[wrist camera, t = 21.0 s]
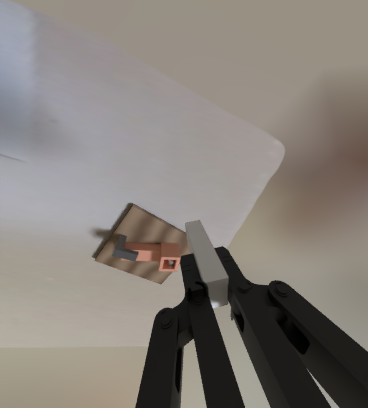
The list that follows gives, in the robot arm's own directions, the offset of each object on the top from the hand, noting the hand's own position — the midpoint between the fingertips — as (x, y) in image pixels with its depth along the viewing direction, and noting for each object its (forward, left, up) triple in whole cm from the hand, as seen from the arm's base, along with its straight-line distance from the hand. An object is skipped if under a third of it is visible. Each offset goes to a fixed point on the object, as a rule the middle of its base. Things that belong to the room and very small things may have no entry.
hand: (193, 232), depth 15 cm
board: (+9, -24, -26) cm, 37 cm away
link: (+9, -23, -25) cm, 35 cm away
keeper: (+2, -23, -26) cm, 35 cm away
